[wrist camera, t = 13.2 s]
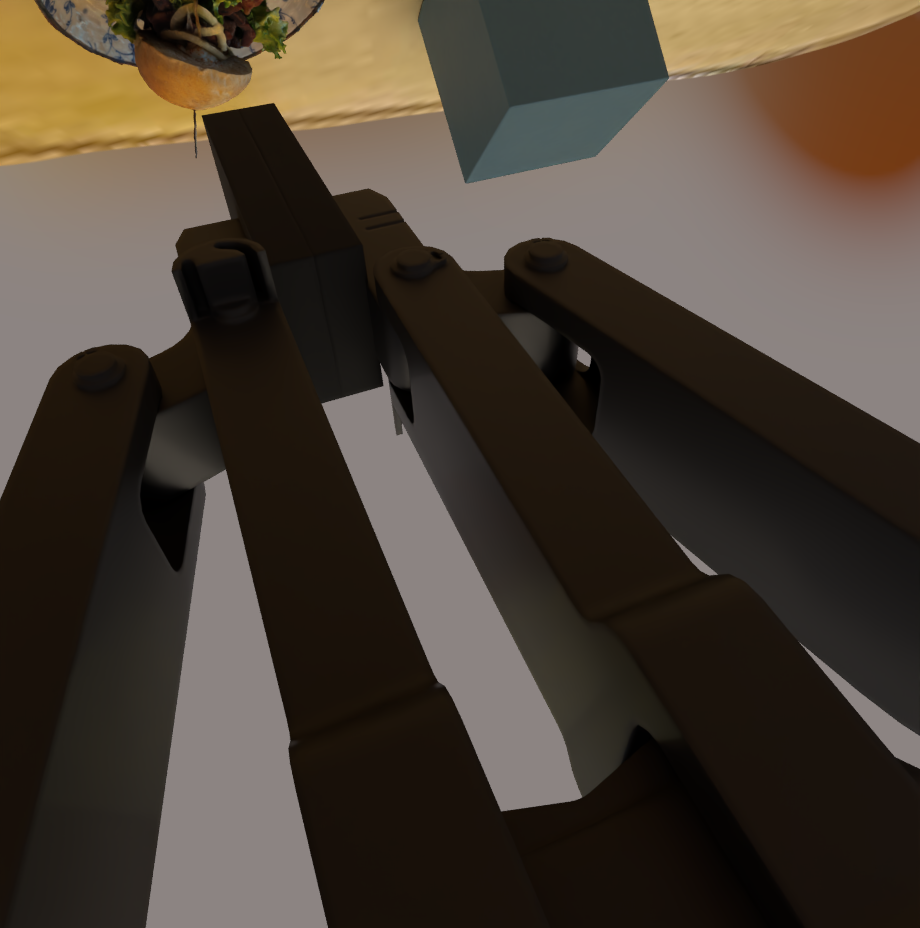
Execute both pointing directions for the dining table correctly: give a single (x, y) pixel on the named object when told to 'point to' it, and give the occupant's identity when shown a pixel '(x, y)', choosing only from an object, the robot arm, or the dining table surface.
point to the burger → (183, 40)
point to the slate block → (539, 77)
